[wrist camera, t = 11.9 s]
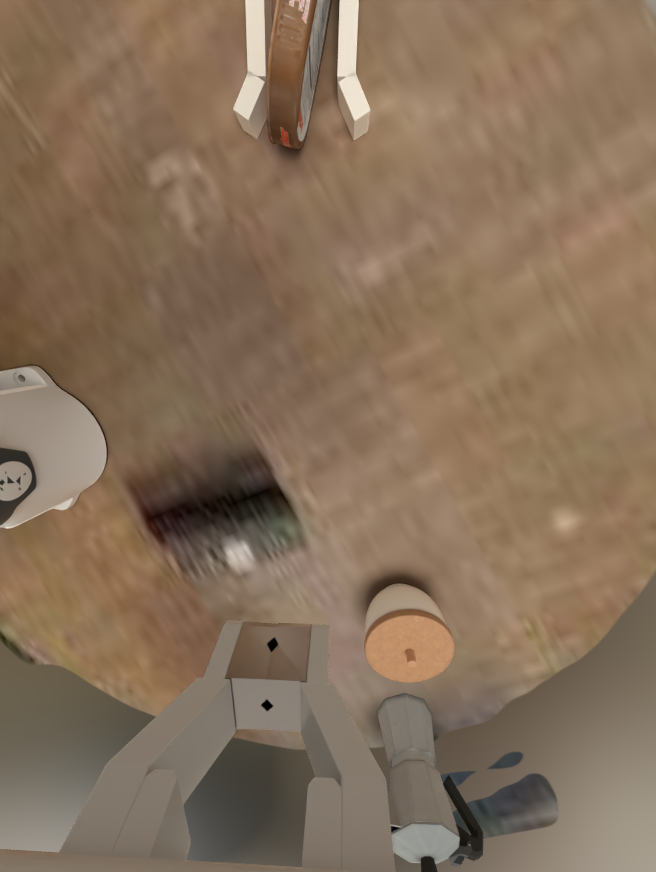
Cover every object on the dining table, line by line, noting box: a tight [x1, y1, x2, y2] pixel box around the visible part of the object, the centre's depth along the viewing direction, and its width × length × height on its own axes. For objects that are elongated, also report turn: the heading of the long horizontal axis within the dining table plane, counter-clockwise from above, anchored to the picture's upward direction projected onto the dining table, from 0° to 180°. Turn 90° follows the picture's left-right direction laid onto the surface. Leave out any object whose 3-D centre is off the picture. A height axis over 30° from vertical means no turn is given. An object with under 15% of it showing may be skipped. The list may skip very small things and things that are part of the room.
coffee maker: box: [377, 693, 483, 872], centre depth 45 cm, size 15×9×18 cm, turn 70°
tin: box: [266, 0, 332, 149], centre depth 25 cm, size 15×3×8 cm, turn 166°
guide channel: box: [233, 0, 371, 141], centre depth 27 cm, size 12×16×3 cm
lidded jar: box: [365, 583, 454, 682], centre depth 42 cm, size 11×11×9 cm
